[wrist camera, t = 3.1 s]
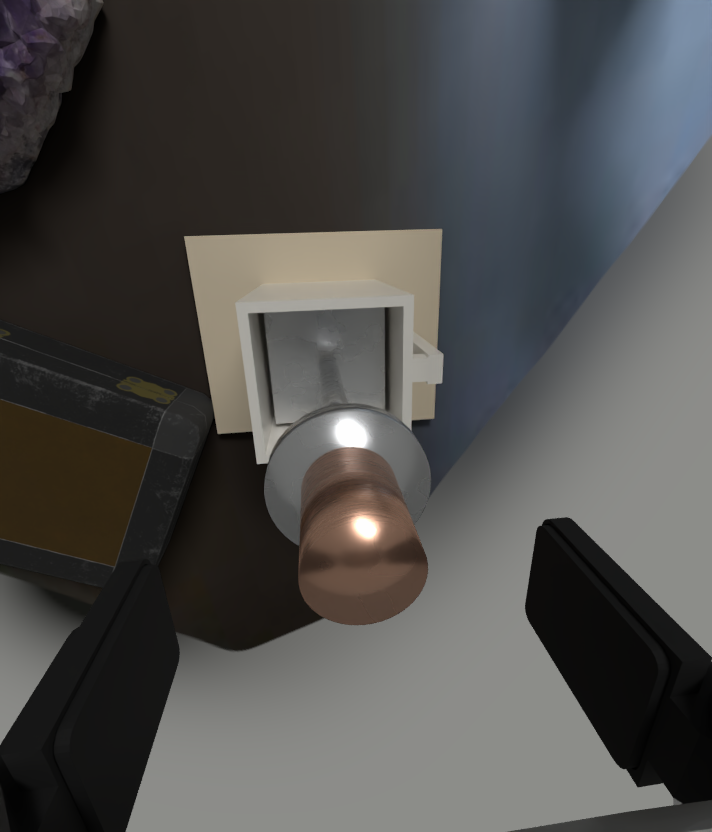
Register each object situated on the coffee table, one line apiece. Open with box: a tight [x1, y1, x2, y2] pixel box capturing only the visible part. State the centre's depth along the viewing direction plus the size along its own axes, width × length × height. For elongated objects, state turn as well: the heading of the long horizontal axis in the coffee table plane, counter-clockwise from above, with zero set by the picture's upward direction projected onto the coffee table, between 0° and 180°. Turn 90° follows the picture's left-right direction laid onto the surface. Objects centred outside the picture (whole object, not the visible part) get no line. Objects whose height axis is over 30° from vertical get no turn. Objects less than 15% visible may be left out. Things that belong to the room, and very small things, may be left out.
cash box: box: [0, 320, 215, 588], centre depth 38 cm, size 25×20×8 cm
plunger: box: [264, 307, 431, 625], centre depth 20 cm, size 8×8×21 cm
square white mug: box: [184, 229, 443, 464], centre depth 32 cm, size 22×18×16 cm
